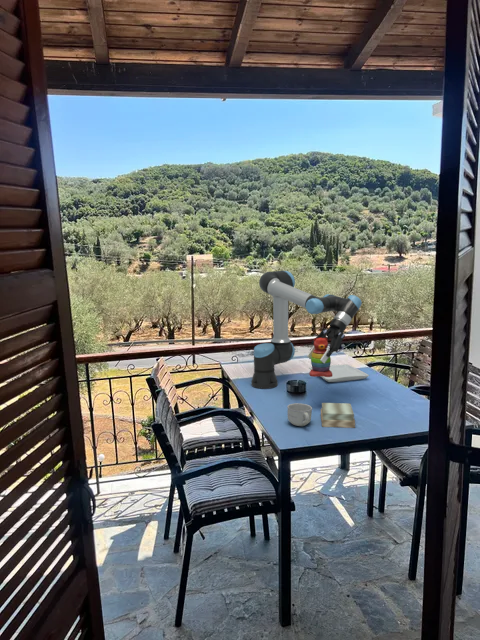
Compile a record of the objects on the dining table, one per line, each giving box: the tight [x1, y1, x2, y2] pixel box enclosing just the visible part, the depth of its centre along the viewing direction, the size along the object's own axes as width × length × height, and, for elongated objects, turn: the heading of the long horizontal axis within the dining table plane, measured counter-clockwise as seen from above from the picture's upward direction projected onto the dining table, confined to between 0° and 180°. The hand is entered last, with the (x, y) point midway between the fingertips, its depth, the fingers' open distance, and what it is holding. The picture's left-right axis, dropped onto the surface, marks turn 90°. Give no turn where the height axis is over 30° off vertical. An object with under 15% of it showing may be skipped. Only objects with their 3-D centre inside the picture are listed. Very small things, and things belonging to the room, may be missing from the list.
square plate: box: [308, 363, 370, 383], centre depth 259 cm, size 27×27×4 cm
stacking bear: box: [308, 337, 332, 378], centre depth 204 cm, size 11×10×18 cm
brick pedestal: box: [320, 402, 356, 429], centre depth 192 cm, size 14×14×6 cm
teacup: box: [286, 402, 313, 427], centre depth 188 cm, size 14×11×8 cm
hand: (315, 359), depth 203 cm, fingers closed on stacking bear, 9 cm apart
